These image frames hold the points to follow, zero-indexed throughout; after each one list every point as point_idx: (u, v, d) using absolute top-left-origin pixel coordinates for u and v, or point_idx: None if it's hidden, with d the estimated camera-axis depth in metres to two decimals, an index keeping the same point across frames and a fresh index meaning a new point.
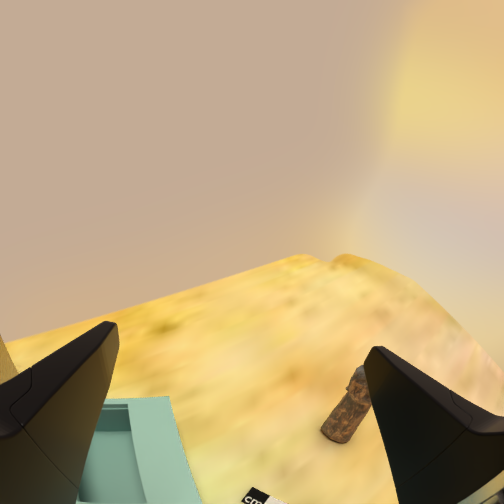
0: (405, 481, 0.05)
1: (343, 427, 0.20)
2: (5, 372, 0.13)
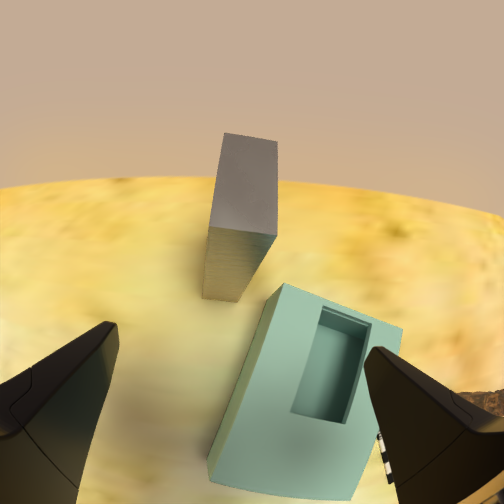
0: (405, 481, 0.05)
1: None
2: None
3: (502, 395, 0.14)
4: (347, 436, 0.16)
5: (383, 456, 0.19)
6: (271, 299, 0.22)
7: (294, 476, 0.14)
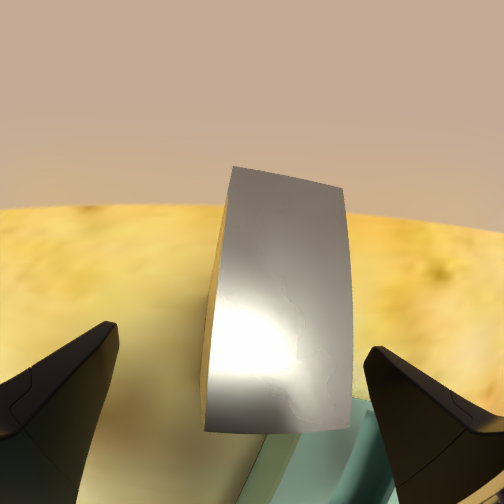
0: (405, 481, 0.05)
1: None
2: None
3: None
4: None
5: None
6: None
7: None
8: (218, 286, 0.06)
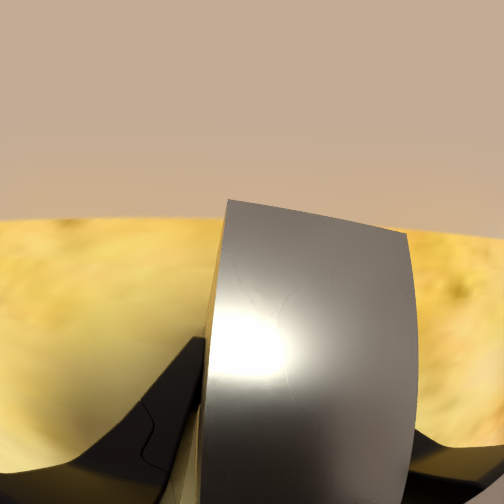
0: None
1: None
2: None
3: None
4: None
5: None
6: None
7: None
8: (205, 440, 0.03)
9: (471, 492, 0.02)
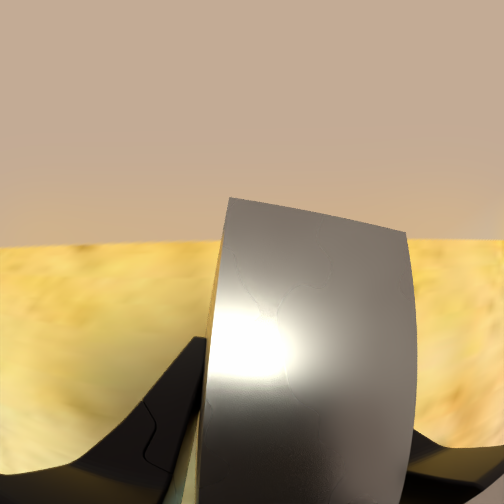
0: None
1: None
2: None
3: None
4: None
5: None
6: None
7: None
8: (204, 434, 0.03)
9: (470, 493, 0.02)
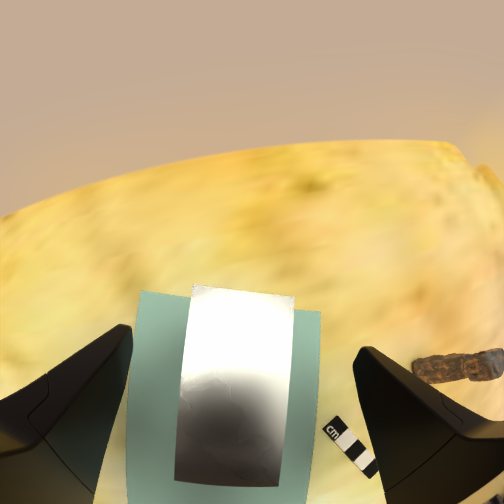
0: (394, 485, 0.05)
1: (434, 378, 0.19)
2: None
3: (483, 360, 0.13)
4: None
5: (347, 455, 0.17)
6: None
7: None
8: (180, 391, 0.07)
9: None
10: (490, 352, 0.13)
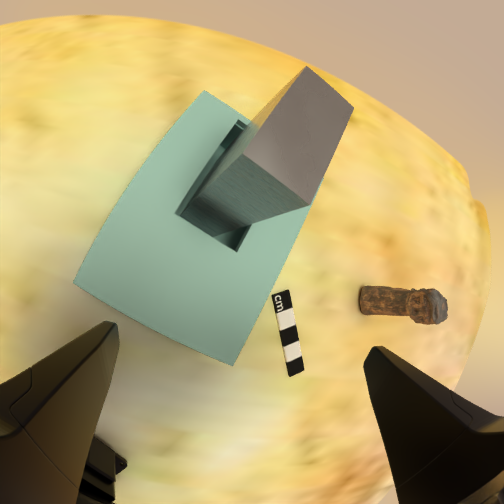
0: (405, 481, 0.05)
1: (377, 305, 0.25)
2: None
3: (429, 295, 0.19)
4: (237, 269, 0.17)
5: (282, 336, 0.24)
6: None
7: (166, 301, 0.15)
8: (278, 102, 0.09)
9: None
10: (437, 291, 0.19)
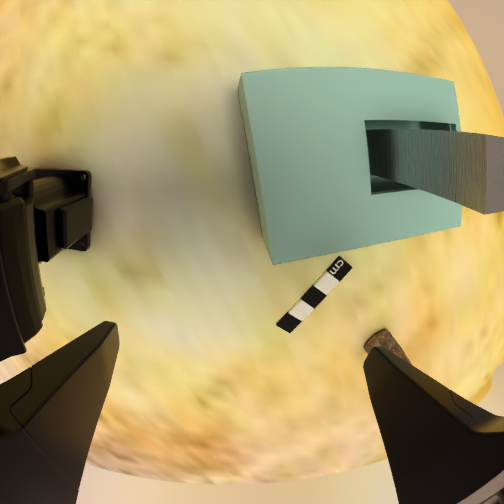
0: (405, 481, 0.05)
1: None
2: None
3: None
4: (359, 205, 0.15)
5: (309, 291, 0.23)
6: None
7: (292, 163, 0.14)
8: None
9: None
10: None
